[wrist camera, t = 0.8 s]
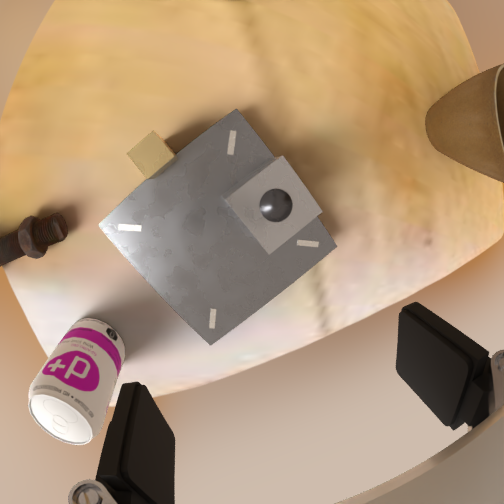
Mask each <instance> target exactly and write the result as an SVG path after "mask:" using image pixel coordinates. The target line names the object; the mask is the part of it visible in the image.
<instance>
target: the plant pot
mask: <svg viewBox="0 0 504 504" xmlns="http://www.w3.org/2000/svg"><path fill="white" fill-rule="evenodd" d="M426 131H427V135H428V138H429V140H430V142H431V143H432V145H433V146H434V147H435V149H437V150H438V151H439V152H441V153H443V154H444V155H446V156H448V157H450V158H451V159H453V160H455V161H457V162H459V163H461V164H463V165H465V166H467V167H469V168H471V169H473V170H475V171H477V172H479V173H482V174H484V175H486V176H488V177H491V178H493V179H496V180H498V181H501V182H503V183H504V64H502V65H499V66H496V67H493V68H491V69H488V70H486V71H484V72H482V73H480V74H478V75H476V76H474V77H472V78H470V79H468V80H466V81H465V82H463V83H461V84H460V85H458V86H457V87H455V88H454V89H452V90H451V91H450V92H448V93H447V94H446V95H444V96H443V97H442V98H441V99H440V100H438V101H437V102H436V103H435V104H434V105H433V106H432V107H431V108H430V109H429V111H428V112H427V115H426Z"/></svg>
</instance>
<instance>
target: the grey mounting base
mask: <svg viewBox="0 0 504 504" xmlns="http://www.w3.org/2000/svg"><path fill="white" fill-rule="evenodd" d="M127 155H128V156H129V157H130V159H131V160H132V161H133V162H134V164H135V165H136V166H137V167H138V169H139V170H140V171H141V172H142V174H143V175H144V176H145V177H146V178H147V179H146V180H145V181H144V182H143V183H142V184H141V185H140V186H138V187H137V188H136V189H135V190H134V191H133V192H132V193H131V194H130V195H129V196H128V197H126V198H125V199H124V200H123V201H122V202H121V203H120V204H119V205H118V206H117V207H116V208H115V209H114V210H113V211H112V212H111V213H110V214H109V215H108V216H107V217H106V218H105V219H104V220H103V221H102V222H101V223H100V224H99V227H100V228H101V229H102V230H103V231H104V233H105V234H106V235H107V236H108V238H109V239H110V240H111V241H112V242H113V243H114V245H115V246H116V247H117V248H118V249H119V251H120V252H121V253H122V254H123V255H124V256H125V257H126V259H127V260H128V261H129V262H130V263H131V264H132V265H133V266H134V268H135V269H136V270H137V271H138V272H139V273H140V274H141V275H142V276H143V278H144V279H145V280H146V281H147V282H148V283H149V284H150V285H151V286H152V287H153V288H154V289H155V291H156V292H157V293H158V294H159V295H160V296H161V297H162V298H163V299H164V300H165V301H166V302H167V303H168V304H169V305H170V306H171V307H172V308H173V309H174V310H175V311H176V312H177V313H178V314H179V315H180V316H181V317H182V318H183V319H184V320H185V321H186V322H187V323H188V324H189V325H190V326H191V327H192V328H193V329H194V330H195V331H196V332H197V333H198V334H199V335H200V336H201V337H202V338H203V339H204V340H205V341H206V342H207V343H208V344H209V345H212V344H213V343H215V342H216V341H217V340H219V339H220V338H222V337H223V336H224V335H226V334H227V333H228V332H230V331H231V330H232V329H234V328H235V327H236V326H238V325H239V324H240V323H242V322H243V321H244V320H246V319H247V318H248V317H250V316H251V315H252V314H254V313H255V312H256V311H257V310H259V309H260V308H261V307H263V306H264V305H265V304H267V303H268V302H269V301H270V300H272V299H273V298H274V297H275V296H277V295H278V294H279V293H281V292H282V291H283V290H284V289H286V288H287V287H288V286H289V285H291V284H292V283H293V282H294V281H296V280H297V279H298V278H299V277H301V276H302V275H303V274H304V273H306V272H307V271H308V270H309V269H311V268H312V267H313V266H314V265H315V264H317V263H318V262H319V261H320V260H322V259H323V258H324V257H325V256H326V255H328V254H329V253H330V252H331V251H332V250H334V249H335V248H336V247H337V245H336V243H335V242H334V240H333V239H332V237H331V236H330V234H329V233H328V231H327V230H326V228H325V227H324V225H323V224H322V222H321V221H320V220H319V218H318V217H316V218H314V219H313V220H312V221H311V222H309V223H308V224H307V225H306V226H304V227H303V228H302V229H301V230H300V231H298V232H297V233H296V234H295V235H293V236H292V237H291V238H290V239H288V240H287V241H286V242H285V243H283V244H282V245H281V246H280V247H278V248H277V249H276V250H275V251H273V252H272V253H271V254H270V255H269V254H268V253H267V252H266V250H265V249H264V248H263V247H262V246H261V244H260V243H259V242H258V241H257V239H256V238H255V237H254V236H253V234H252V233H251V232H250V231H249V229H248V228H247V227H246V226H245V224H244V223H243V222H242V221H241V219H240V218H239V217H238V216H237V214H236V213H235V212H234V211H233V209H232V208H231V207H230V206H229V204H228V203H227V202H226V201H225V199H224V198H223V197H222V195H223V194H224V193H225V192H227V191H228V190H229V189H230V188H232V187H233V186H234V185H236V184H237V183H238V182H239V181H241V180H242V179H243V178H245V177H246V176H247V175H248V174H250V173H251V172H252V171H254V170H255V169H256V168H258V167H259V166H260V165H262V164H263V163H264V162H266V161H267V160H268V159H270V158H273V157H274V155H273V154H272V153H271V152H270V150H269V149H268V148H267V146H266V145H265V144H264V142H263V141H262V140H261V139H260V137H259V136H258V135H257V133H256V132H255V131H254V130H253V128H252V127H251V126H250V125H249V123H248V122H247V121H246V120H245V118H244V117H243V116H242V115H241V113H240V112H239V111H238V110H237V109H235V110H234V111H232V112H231V113H229V114H228V115H227V116H225V117H224V118H222V119H221V120H220V121H218V122H217V123H216V124H214V125H213V126H212V127H210V128H209V129H208V130H206V131H205V132H204V133H202V134H201V135H200V136H198V137H197V138H196V139H194V140H193V141H192V142H191V143H189V144H188V145H187V146H186V147H184V148H183V149H182V150H181V151H179V152H178V153H177V154H175V153H174V152H173V151H172V149H171V148H170V147H169V146H168V144H167V143H166V142H165V141H164V140H163V139H162V138H161V137H160V136H159V135H158V134H157V133H156V132H154V131H152V132H151V133H150V134H148V135H147V136H146V137H145V138H144V139H143V140H141V141H140V142H139V143H138V144H137V145H136V146H135V147H133V148H132V149H131V150H130V151H129V152H128V153H127Z"/></svg>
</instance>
